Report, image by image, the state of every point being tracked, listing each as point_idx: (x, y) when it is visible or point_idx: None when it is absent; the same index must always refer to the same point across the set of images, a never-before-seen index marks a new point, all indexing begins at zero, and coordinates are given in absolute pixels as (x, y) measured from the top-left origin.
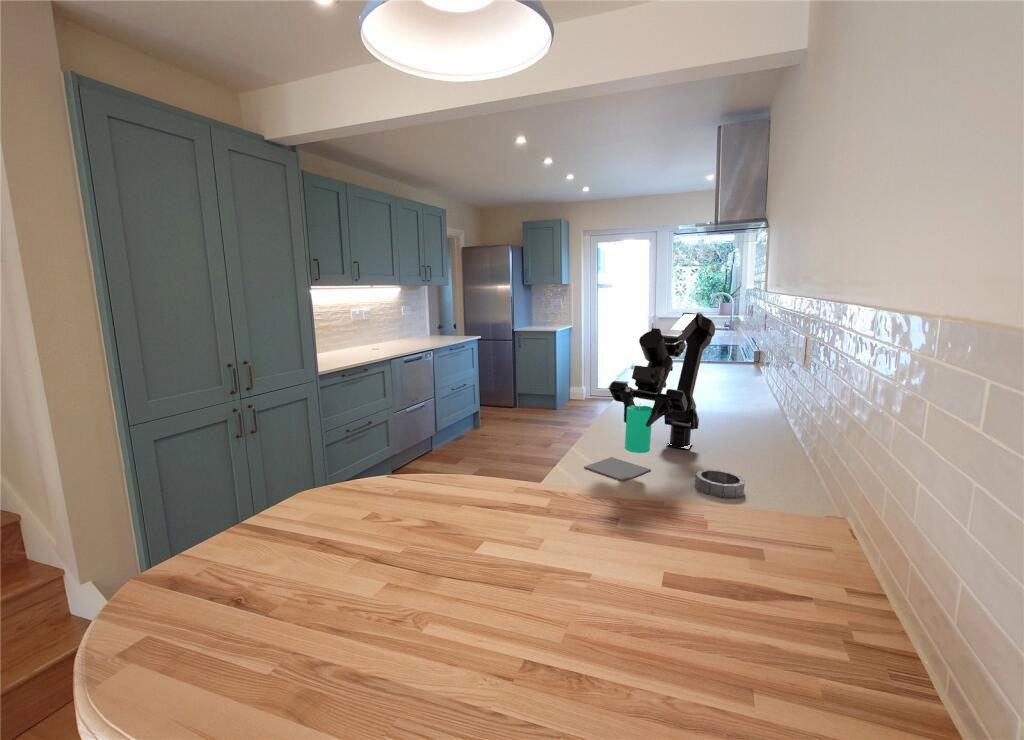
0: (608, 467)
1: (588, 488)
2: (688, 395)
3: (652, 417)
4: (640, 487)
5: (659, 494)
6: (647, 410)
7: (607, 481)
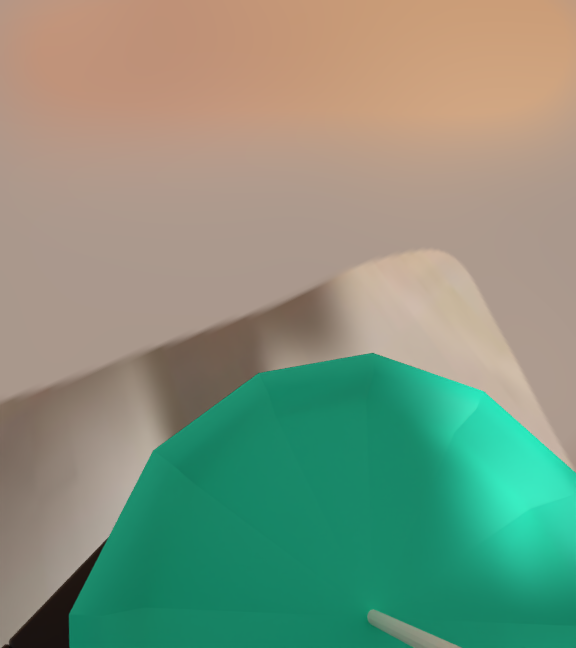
0: None
1: (337, 276)
2: None
3: (79, 575)
4: (179, 407)
5: (83, 386)
6: (148, 485)
7: None
